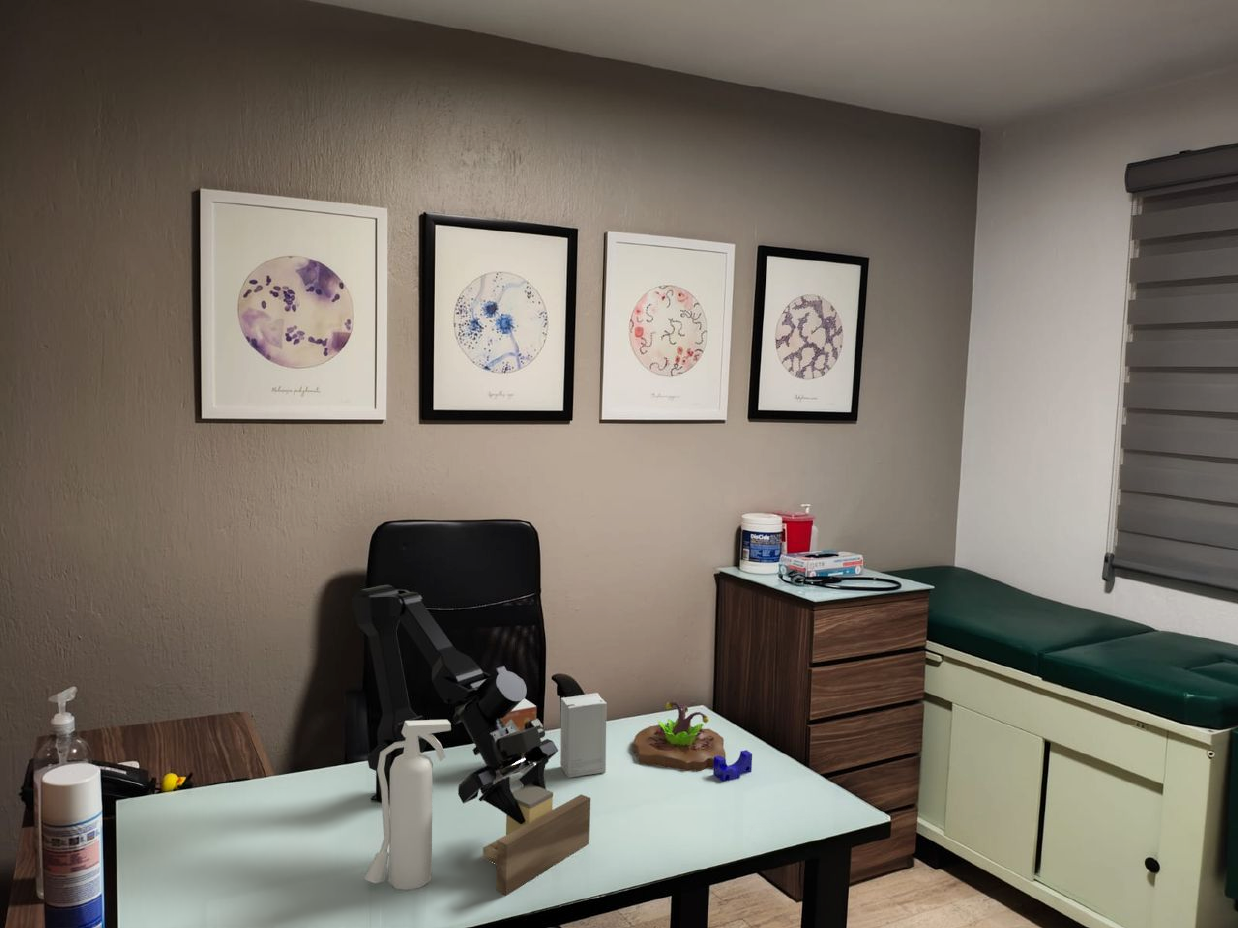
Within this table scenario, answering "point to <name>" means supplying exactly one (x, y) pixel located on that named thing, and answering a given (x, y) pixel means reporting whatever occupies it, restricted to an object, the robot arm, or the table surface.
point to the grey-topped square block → (530, 805)
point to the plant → (679, 743)
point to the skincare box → (583, 735)
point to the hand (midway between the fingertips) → (535, 816)
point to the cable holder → (732, 767)
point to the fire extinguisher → (408, 809)
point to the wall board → (540, 844)
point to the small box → (520, 716)
